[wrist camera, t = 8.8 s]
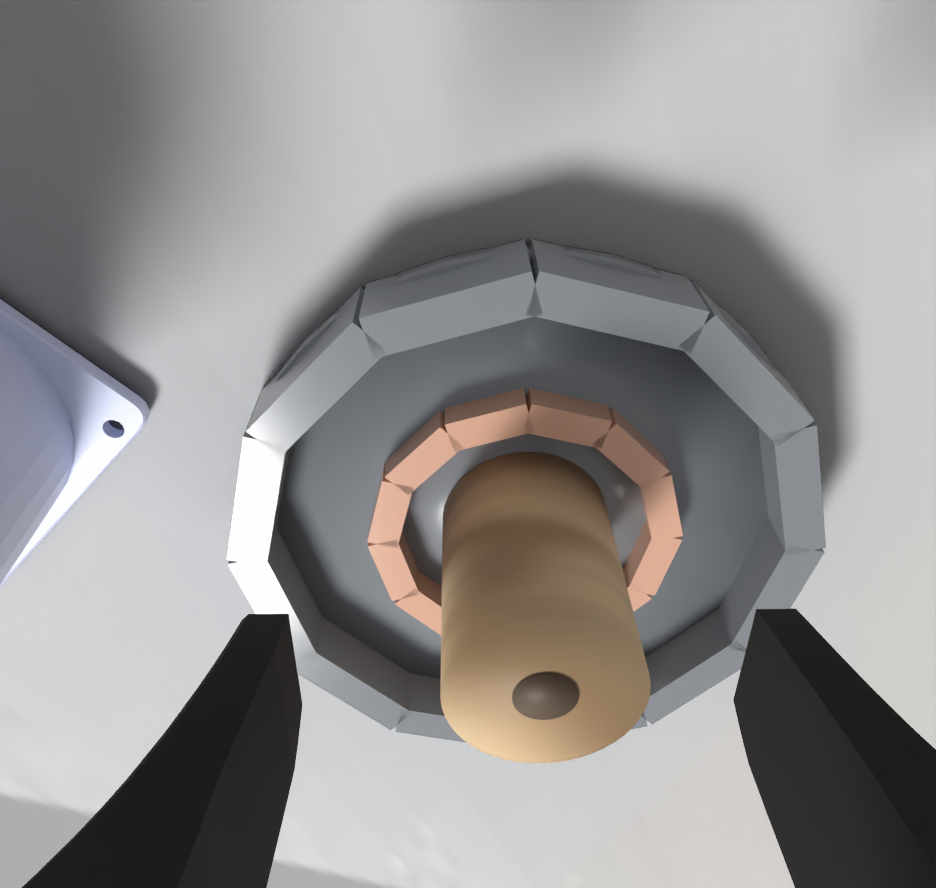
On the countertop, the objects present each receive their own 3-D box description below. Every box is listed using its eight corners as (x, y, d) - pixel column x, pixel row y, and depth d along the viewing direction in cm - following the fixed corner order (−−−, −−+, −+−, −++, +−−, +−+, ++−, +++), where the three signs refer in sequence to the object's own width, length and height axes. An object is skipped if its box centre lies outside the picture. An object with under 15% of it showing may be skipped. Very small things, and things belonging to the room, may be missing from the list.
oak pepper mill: (522, 605, 25) (541, 790, 19) (408, 523, 23) (396, 702, 18) (640, 517, 23) (694, 693, 18) (526, 421, 21) (550, 585, 16)
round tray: (515, 757, 29) (519, 810, 27) (135, 516, 23) (110, 564, 22) (905, 501, 23) (940, 547, 22) (531, 100, 18) (540, 121, 16)
